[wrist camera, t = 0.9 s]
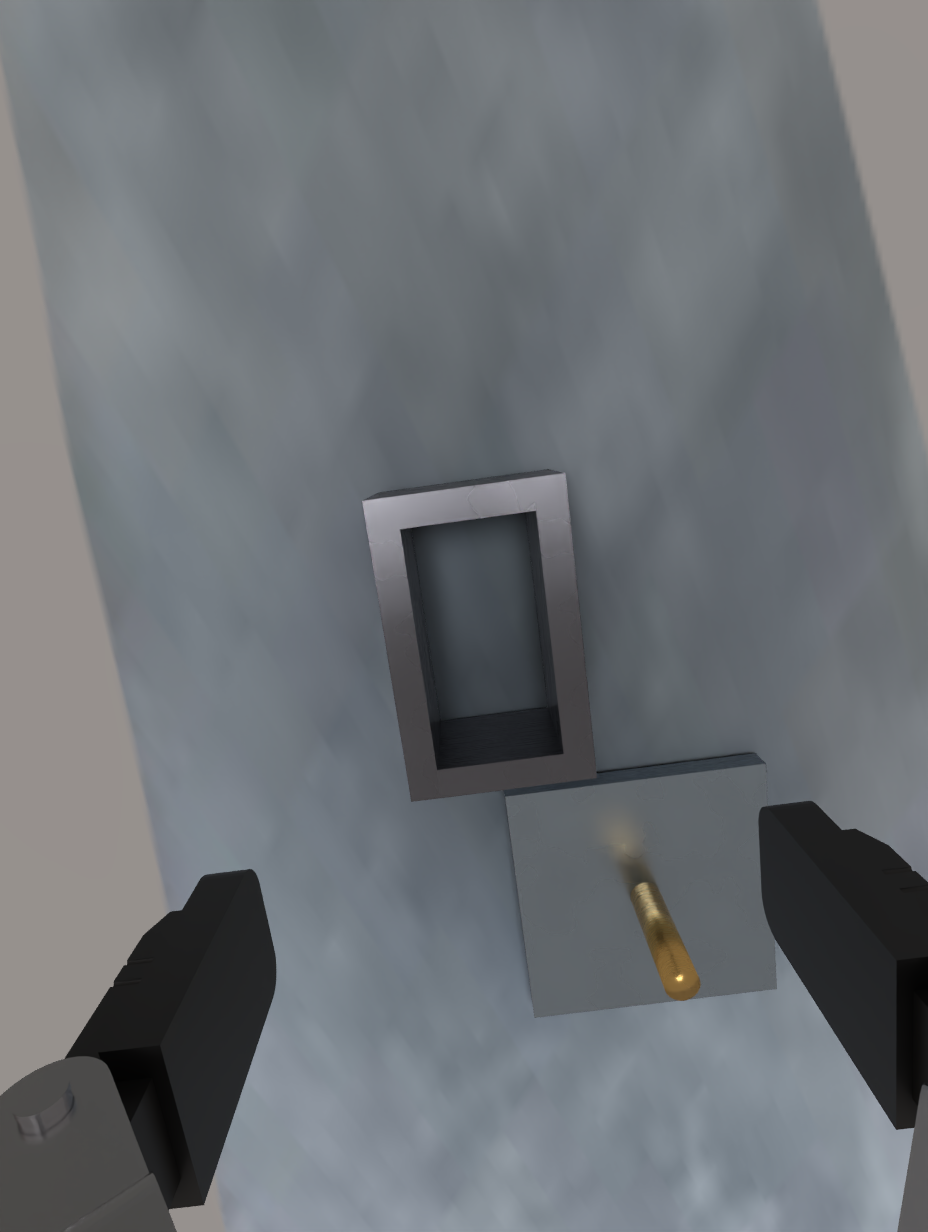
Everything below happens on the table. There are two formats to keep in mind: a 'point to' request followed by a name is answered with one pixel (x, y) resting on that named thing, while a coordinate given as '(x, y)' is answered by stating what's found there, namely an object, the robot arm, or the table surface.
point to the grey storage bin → (562, 731)
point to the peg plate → (643, 885)
